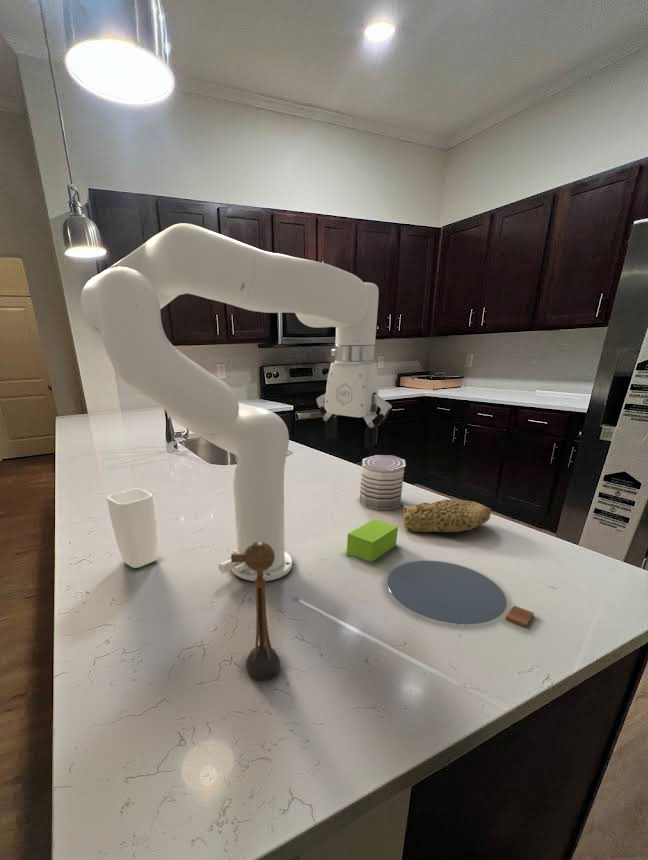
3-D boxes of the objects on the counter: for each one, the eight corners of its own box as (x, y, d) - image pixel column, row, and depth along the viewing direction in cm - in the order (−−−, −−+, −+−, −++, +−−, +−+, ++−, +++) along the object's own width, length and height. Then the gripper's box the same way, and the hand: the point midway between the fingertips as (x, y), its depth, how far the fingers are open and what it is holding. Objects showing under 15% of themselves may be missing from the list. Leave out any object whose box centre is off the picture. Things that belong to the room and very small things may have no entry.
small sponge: (370, 564, 85) (372, 542, 83) (346, 554, 89) (347, 533, 87) (395, 547, 91) (398, 526, 90) (372, 538, 95) (373, 519, 93)
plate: (480, 644, 63) (481, 641, 63) (366, 593, 76) (366, 590, 76) (521, 589, 76) (522, 586, 76) (417, 553, 89) (418, 550, 89)
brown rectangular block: (524, 630, 66) (526, 624, 65) (504, 622, 68) (505, 616, 67) (532, 618, 68) (534, 612, 68) (512, 611, 70) (513, 605, 70)
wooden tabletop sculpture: (238, 680, 57) (229, 552, 49) (239, 656, 62) (232, 534, 54) (281, 679, 57) (279, 550, 49) (279, 655, 62) (277, 533, 54)
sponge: (406, 542, 96) (502, 533, 90) (402, 509, 94) (499, 498, 89) (403, 528, 108) (488, 519, 103) (400, 499, 107) (485, 488, 101)
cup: (147, 549, 93) (137, 486, 87) (165, 561, 88) (155, 495, 82) (116, 561, 88) (103, 496, 82) (133, 574, 83) (120, 505, 77)
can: (410, 504, 114) (415, 461, 109) (381, 514, 108) (385, 469, 103) (378, 492, 123) (382, 452, 118) (350, 501, 117) (352, 459, 112)
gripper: (307, 355, 84) (306, 439, 91) (384, 357, 73) (376, 452, 80) (330, 353, 89) (327, 433, 96) (405, 355, 78) (396, 445, 85)
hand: (349, 442), depth 88 cm, fingers open, 9 cm apart
